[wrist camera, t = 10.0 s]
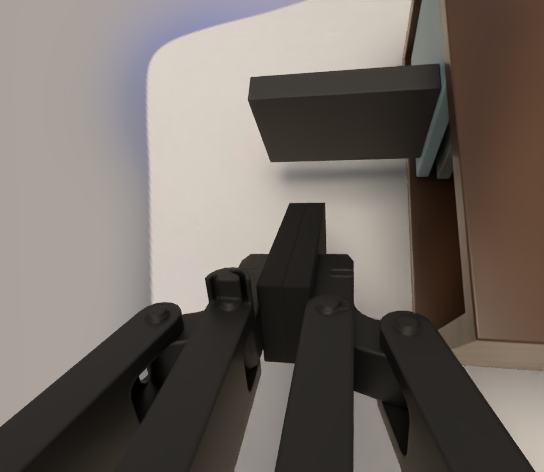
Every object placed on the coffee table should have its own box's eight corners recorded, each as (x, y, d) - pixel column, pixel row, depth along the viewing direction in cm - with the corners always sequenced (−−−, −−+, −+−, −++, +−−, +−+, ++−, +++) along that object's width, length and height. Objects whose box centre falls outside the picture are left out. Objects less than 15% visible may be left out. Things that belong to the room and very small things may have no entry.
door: (274, 180, 22) (237, 82, 15) (284, 70, 25) (256, -59, 17) (428, 177, 20) (470, 65, 13) (421, 59, 23) (452, -88, 16)
